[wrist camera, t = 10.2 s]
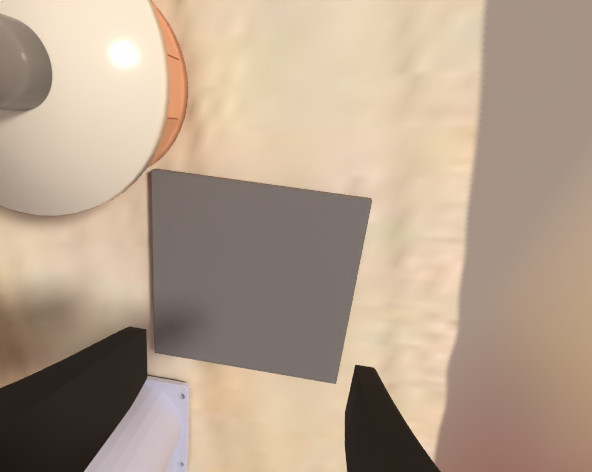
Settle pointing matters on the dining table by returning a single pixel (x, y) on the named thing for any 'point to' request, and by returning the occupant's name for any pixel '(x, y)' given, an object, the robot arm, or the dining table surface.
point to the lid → (78, 101)
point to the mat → (254, 272)
